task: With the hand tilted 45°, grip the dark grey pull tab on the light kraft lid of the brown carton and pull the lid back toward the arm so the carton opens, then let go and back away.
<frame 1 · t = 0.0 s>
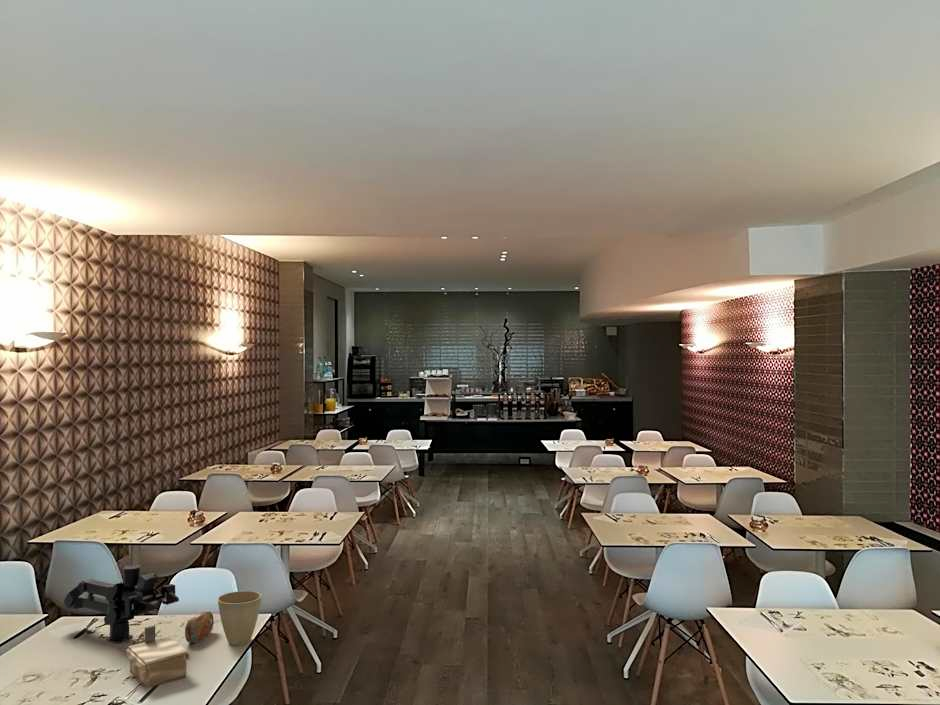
hand: (167, 603, 254), 17 cm above the table, tool horizontal, fingers open, 9 cm apart
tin: (199, 639, 266), on the table
plant pot: (239, 642, 263), on the table
carton lid: (157, 645, 236), point 9 cm above the table, slide at 0.0 cm
carton: (157, 674, 236), on the table
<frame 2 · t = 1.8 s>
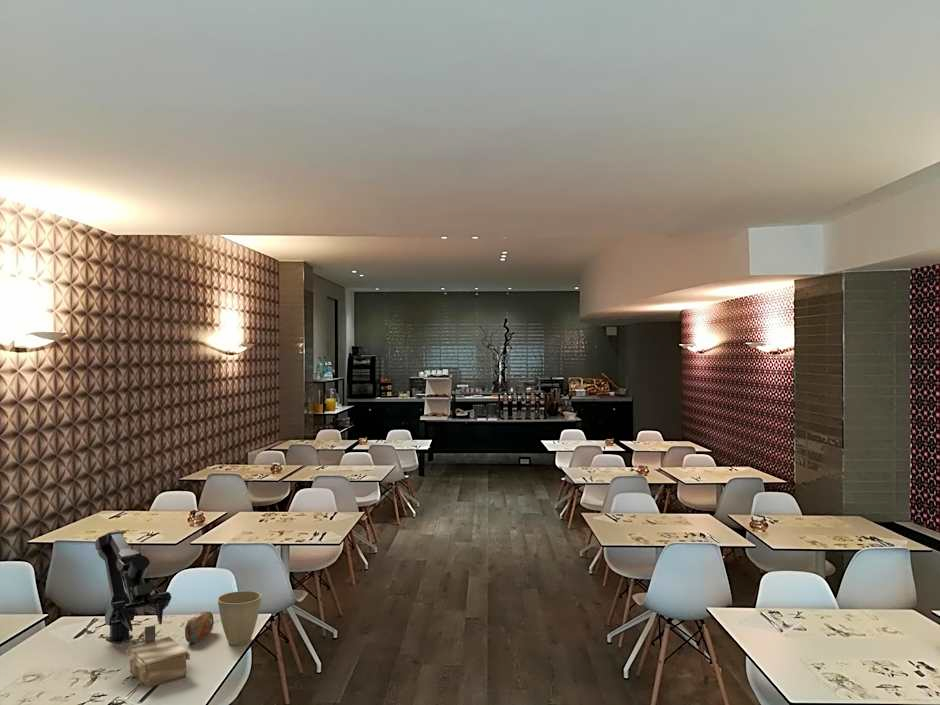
hand: (146, 627, 244), 12 cm above the table, tool tilted 45°, fingers open, 9 cm apart
nothing on the table moved.
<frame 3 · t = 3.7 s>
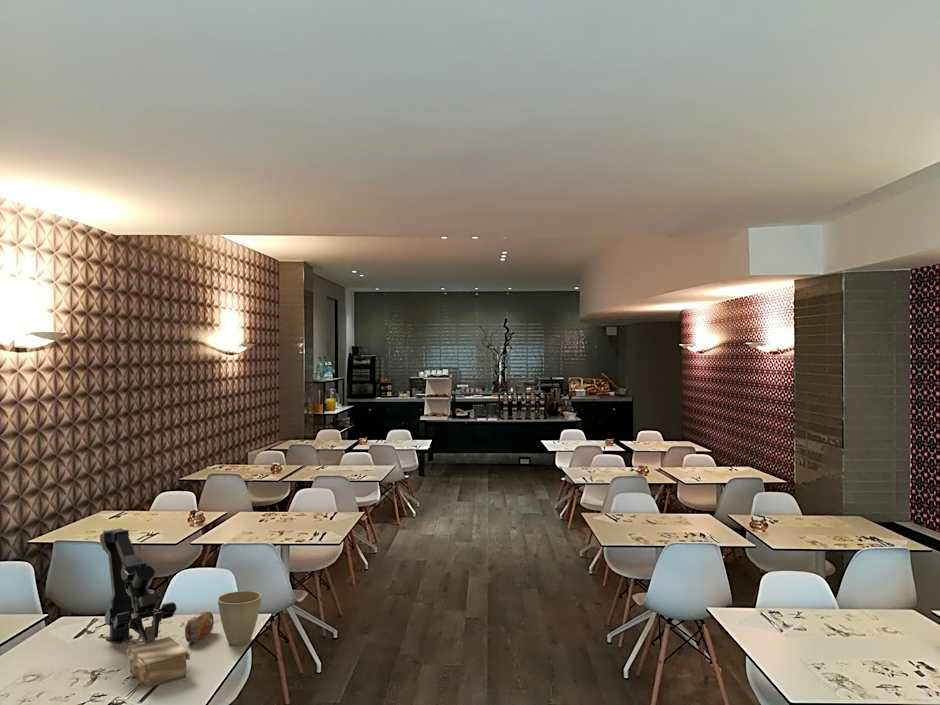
hand: (151, 638, 240), 10 cm above the table, tool tilted 45°, fingers closed on carton lid, 3 cm apart
carton lid: (157, 645, 236), point 9 cm above the table, slide at 0.0 cm, touching gripper
everything else where it was.
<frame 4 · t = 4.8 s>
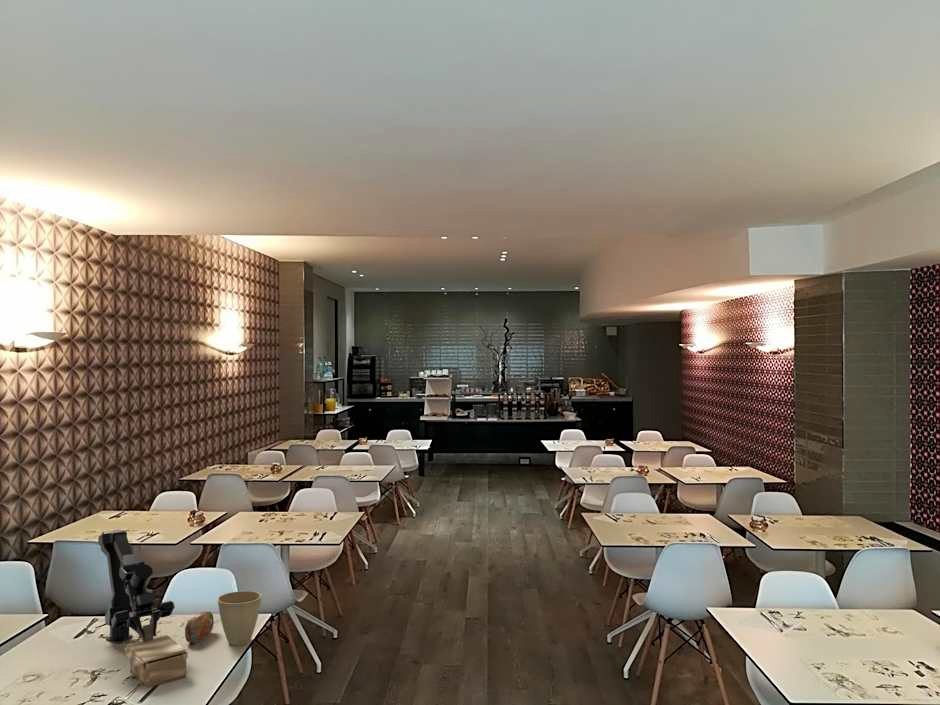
hand: (149, 637, 242), 10 cm above the table, tool tilted 45°, fingers closed on carton lid, 3 cm apart
carton lid: (155, 643, 237), point 9 cm above the table, slide at 1.9 cm, touching gripper
everything else where it was.
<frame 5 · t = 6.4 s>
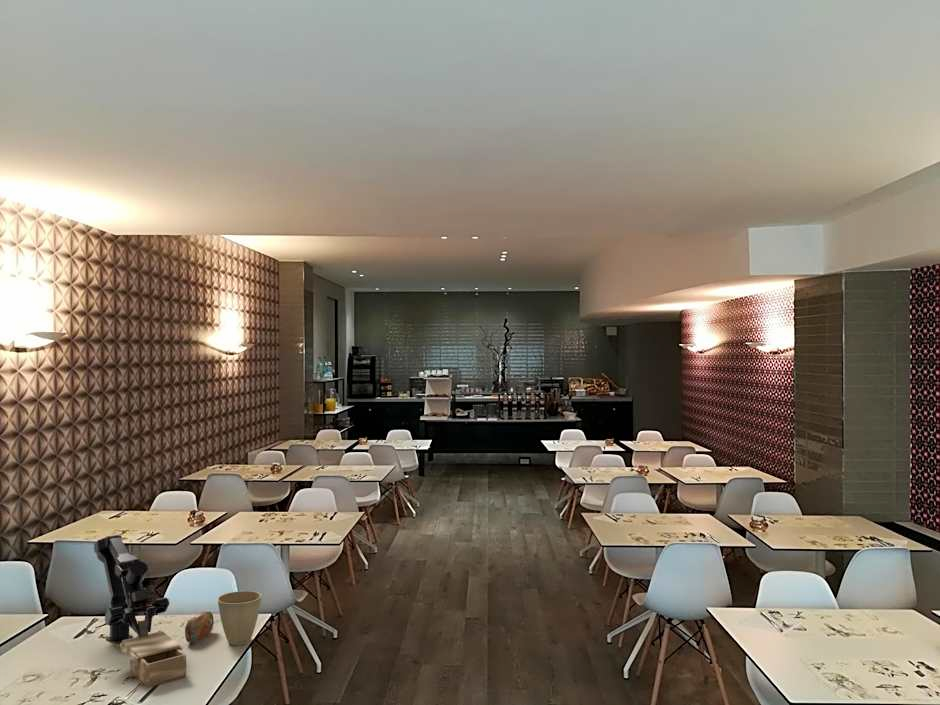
hand: (144, 633, 246), 10 cm above the table, tool tilted 45°, fingers closed on carton lid, 3 cm apart
carton lid: (150, 639, 241), point 9 cm above the table, slide at 6.8 cm, touching gripper
everything else where it was.
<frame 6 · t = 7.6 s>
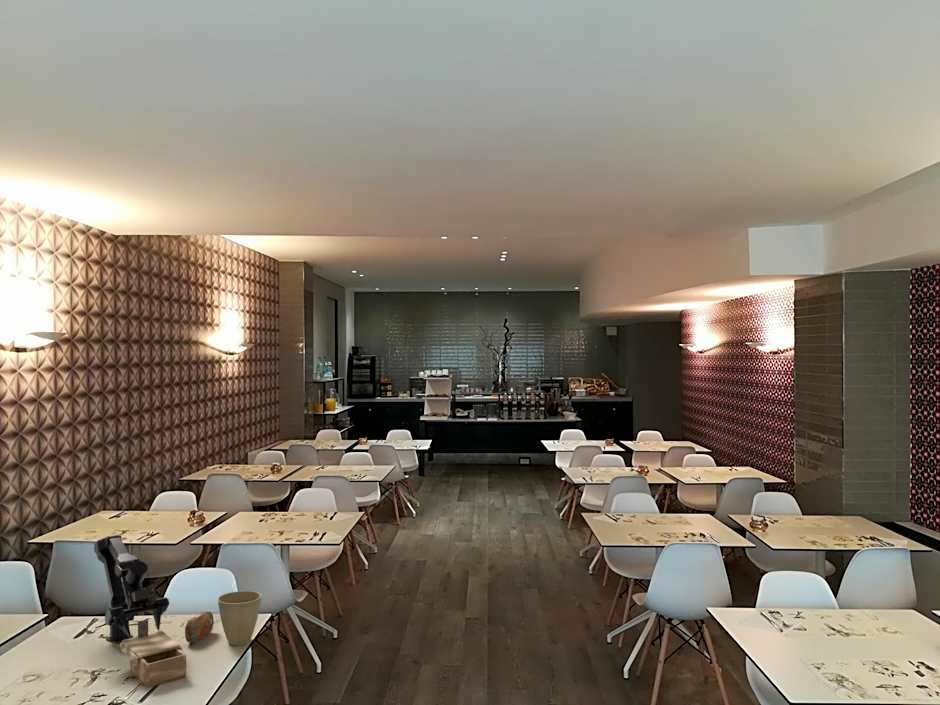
hand: (144, 632, 246), 10 cm above the table, tool tilted 45°, fingers open, 9 cm apart
carton lid: (150, 639, 241), point 9 cm above the table, slide at 7.0 cm
everything else where it was.
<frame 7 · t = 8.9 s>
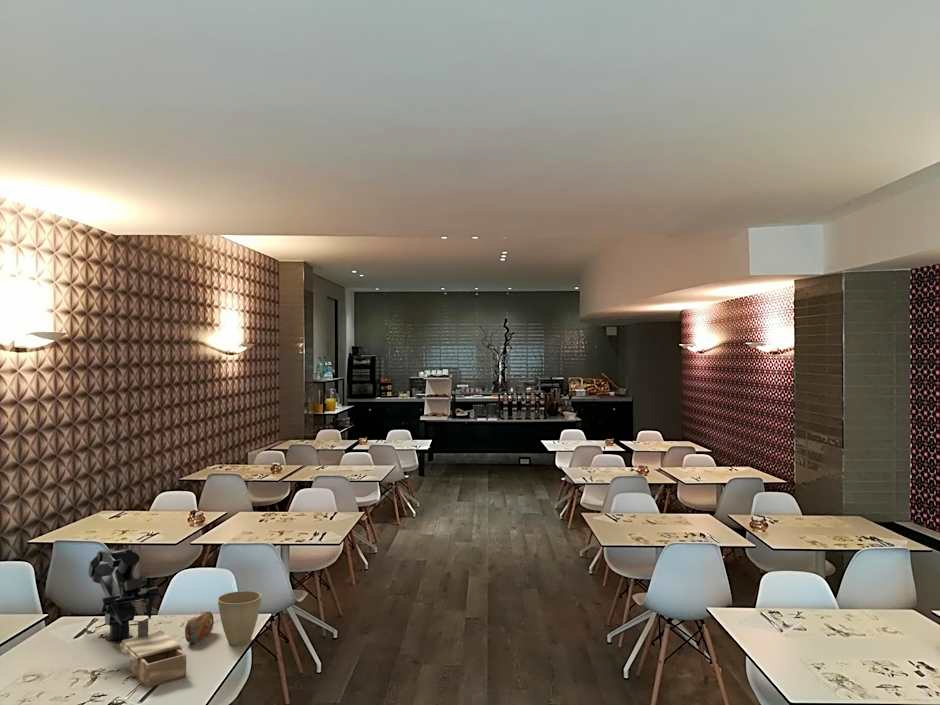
hand: (136, 621, 252), 11 cm above the table, tool tilted 45°, fingers open, 9 cm apart
nothing on the table moved.
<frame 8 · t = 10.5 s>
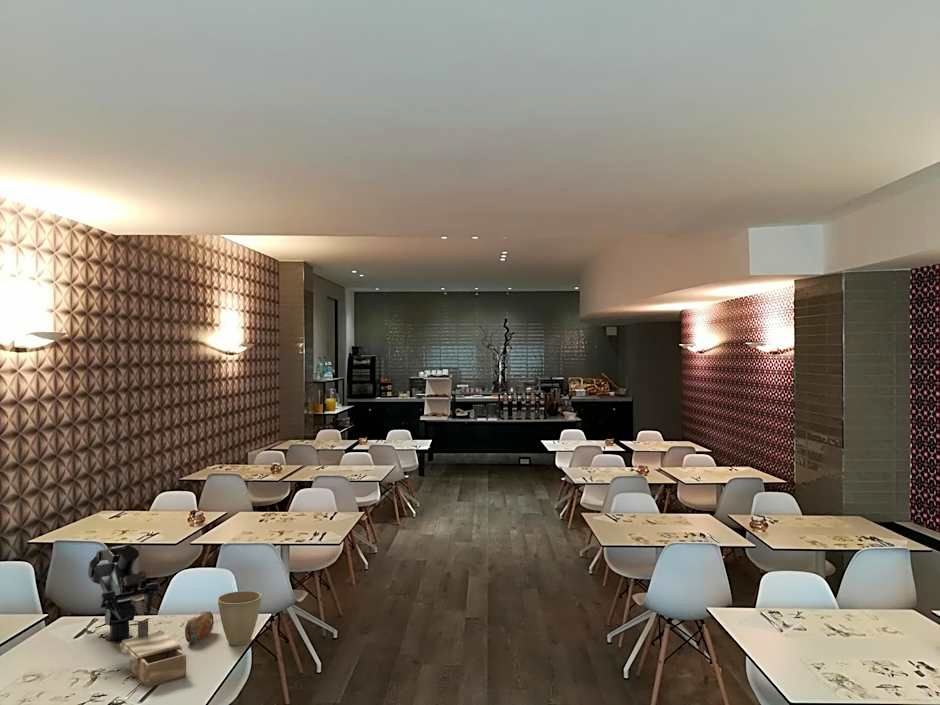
hand: (135, 616, 253), 13 cm above the table, tool tilted 45°, fingers open, 9 cm apart
nothing on the table moved.
at the end: carton lid slide at 7.0 cm; the gripper is holding nothing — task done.
